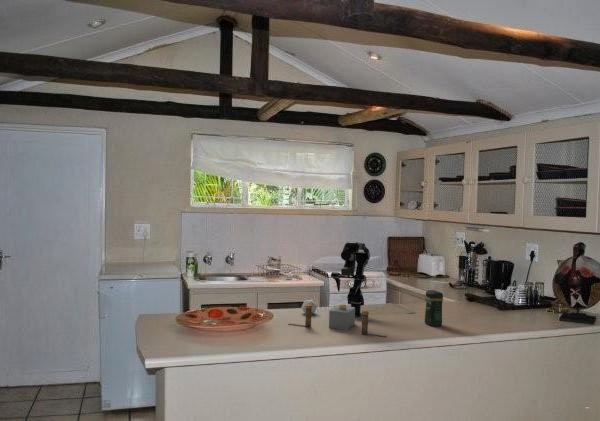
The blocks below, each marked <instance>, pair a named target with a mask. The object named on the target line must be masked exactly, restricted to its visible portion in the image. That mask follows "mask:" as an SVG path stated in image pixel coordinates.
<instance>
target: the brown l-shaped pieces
mask: <svg viewBox="0 0 600 421" xmlns="http://www.w3.org/2000/svg"><path fill="white" fill-rule="evenodd" d="M305 308H306V314H305V323H304V324H298V323H288V324H287V325H290V326H297V327H304V328H309V329H310V328H312V314H311V313H312V305H306V307H305ZM361 313H362V315H361V335H363V336H372V337H374V336H375V337H379V338H380V337H381V338H387V335H383V334H374V333H368V332H369V331H368V330H369V329H368V328H369V311H367V310H361Z"/></svg>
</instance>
